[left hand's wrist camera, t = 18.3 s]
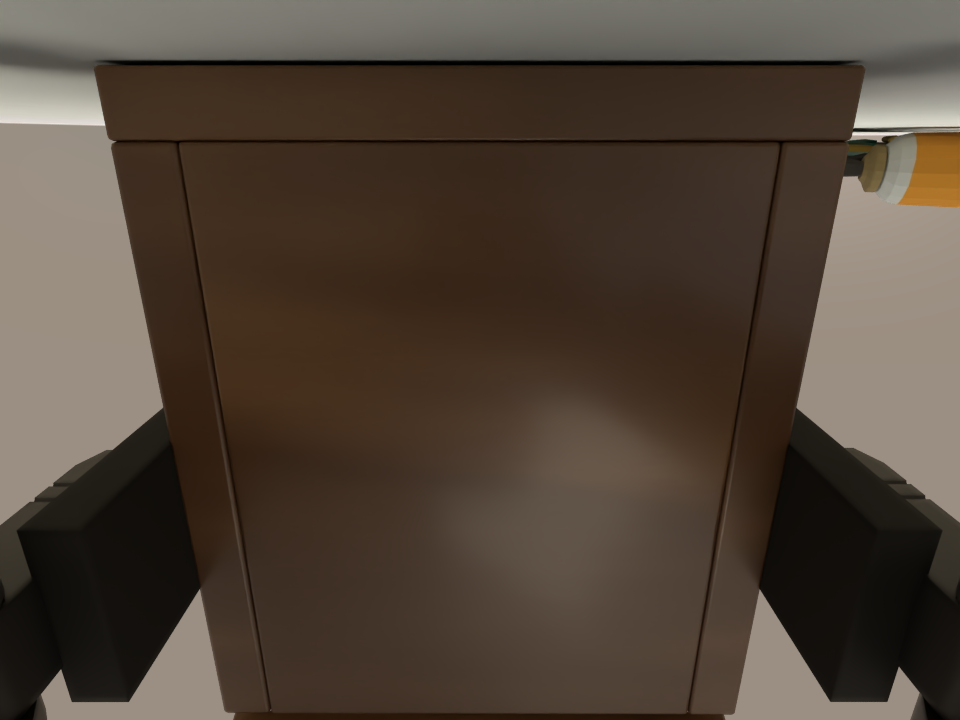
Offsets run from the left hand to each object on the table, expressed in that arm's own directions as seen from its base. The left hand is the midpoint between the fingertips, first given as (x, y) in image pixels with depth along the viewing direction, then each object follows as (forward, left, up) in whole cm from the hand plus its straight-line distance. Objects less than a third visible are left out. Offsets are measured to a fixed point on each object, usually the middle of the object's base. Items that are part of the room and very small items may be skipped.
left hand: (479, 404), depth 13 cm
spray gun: (+40, +9, -6) cm, 42 cm away
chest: (+4, -2, -6) cm, 8 cm away
